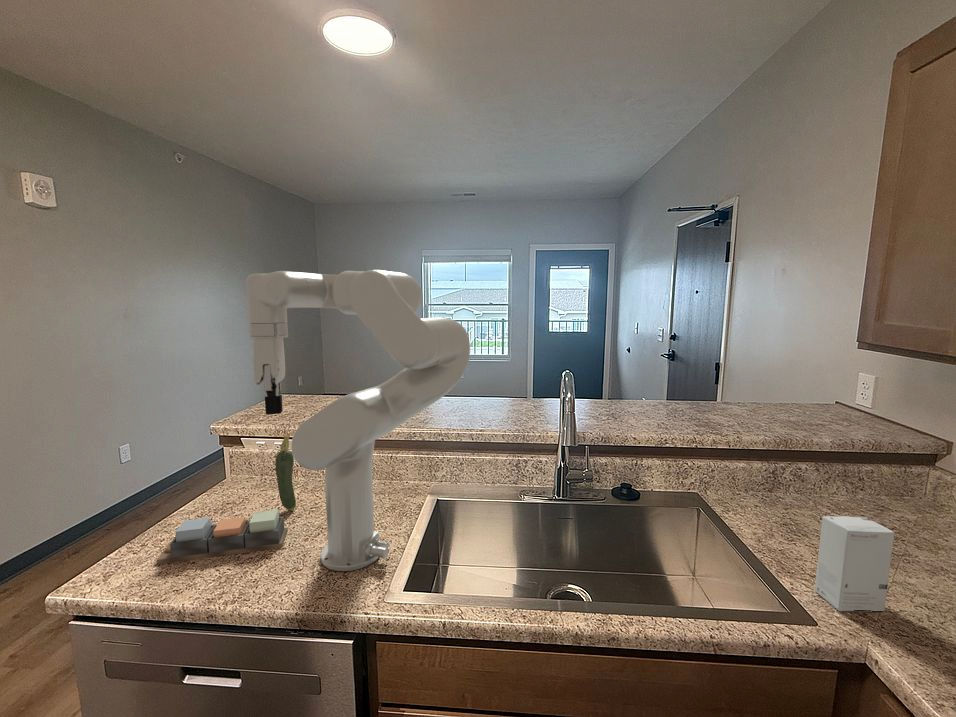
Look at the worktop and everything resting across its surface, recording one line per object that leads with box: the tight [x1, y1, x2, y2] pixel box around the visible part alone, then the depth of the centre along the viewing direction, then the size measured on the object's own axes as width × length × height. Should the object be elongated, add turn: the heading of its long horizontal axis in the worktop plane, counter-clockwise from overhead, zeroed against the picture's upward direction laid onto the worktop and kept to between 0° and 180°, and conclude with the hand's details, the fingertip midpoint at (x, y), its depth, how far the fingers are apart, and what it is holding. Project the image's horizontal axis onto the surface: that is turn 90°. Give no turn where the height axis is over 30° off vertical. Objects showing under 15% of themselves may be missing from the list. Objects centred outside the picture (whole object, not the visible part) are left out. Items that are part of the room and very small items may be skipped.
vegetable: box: [274, 434, 297, 511], centre depth 111 cm, size 4×4×20 cm
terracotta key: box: [213, 516, 247, 538], centre depth 95 cm, size 5×5×4 cm
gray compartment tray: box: [155, 515, 289, 565], centre depth 95 cm, size 24×7×4 cm, turn 105°
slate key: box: [174, 516, 212, 542], centre depth 94 cm, size 5×5×4 cm
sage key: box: [249, 509, 280, 533], centre depth 97 cm, size 5×5×4 cm
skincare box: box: [814, 515, 895, 612], centre depth 77 cm, size 8×6×15 cm
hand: (274, 413), depth 97 cm, fingers closed
